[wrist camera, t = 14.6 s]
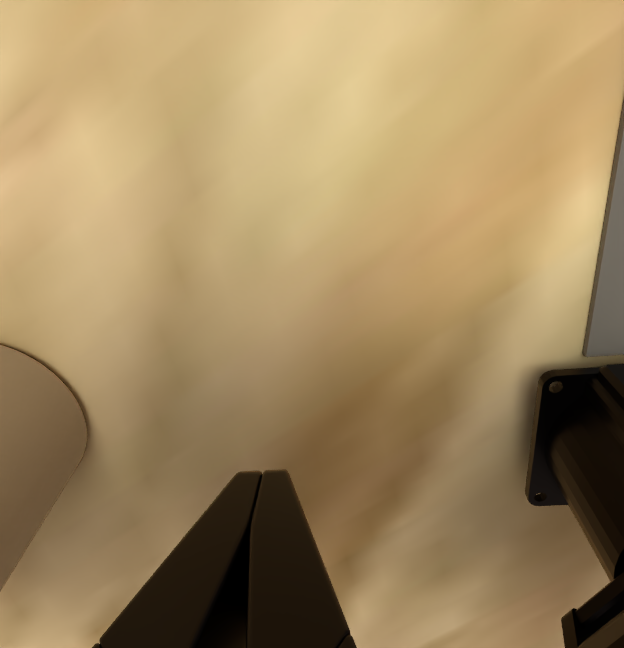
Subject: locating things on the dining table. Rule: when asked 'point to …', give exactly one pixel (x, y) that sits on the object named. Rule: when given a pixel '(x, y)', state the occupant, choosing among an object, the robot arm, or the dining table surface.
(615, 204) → the track mat
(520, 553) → the dining table surface
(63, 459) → the travel mug
